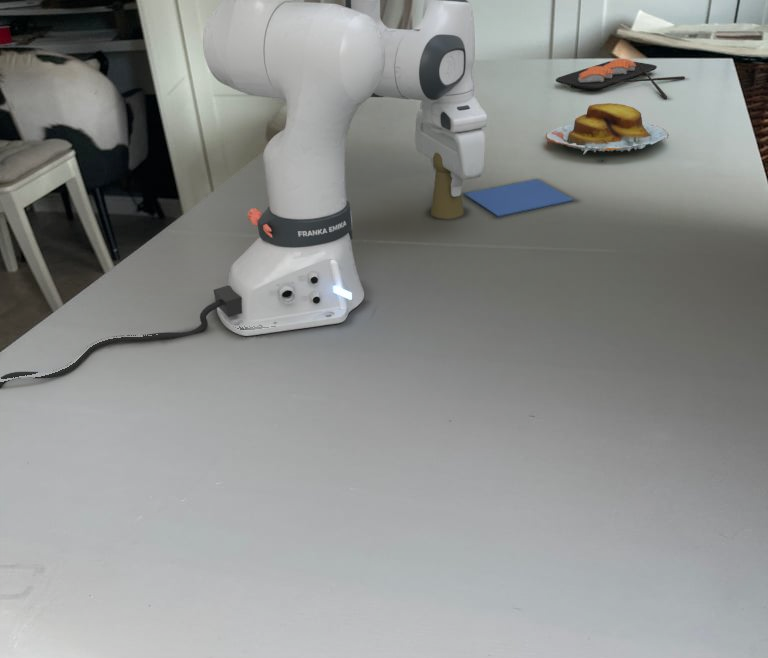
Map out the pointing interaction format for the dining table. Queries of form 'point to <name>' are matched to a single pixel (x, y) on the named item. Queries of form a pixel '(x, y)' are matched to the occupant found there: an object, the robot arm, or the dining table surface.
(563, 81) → the sushi plate
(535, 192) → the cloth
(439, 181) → the brown peg doll
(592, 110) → the food on plate
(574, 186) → the dining table surface
